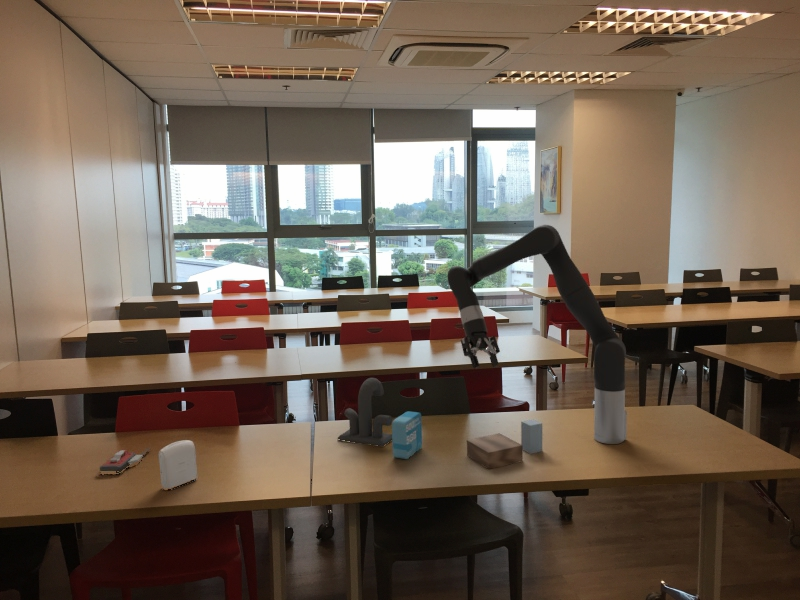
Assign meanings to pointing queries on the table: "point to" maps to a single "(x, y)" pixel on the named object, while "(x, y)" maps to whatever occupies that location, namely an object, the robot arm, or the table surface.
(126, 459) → the walkie-talkie
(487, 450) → the walnut base
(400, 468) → the table surface
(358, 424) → the faucet
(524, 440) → the slate block
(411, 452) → the light blue box
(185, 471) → the photo printer
